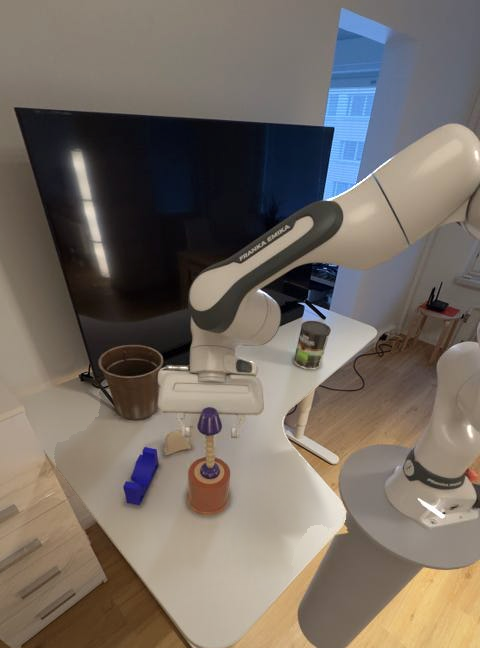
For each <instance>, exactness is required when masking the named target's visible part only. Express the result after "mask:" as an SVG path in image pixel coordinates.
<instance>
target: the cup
mask: <svg viewBox="0 0 480 648" xmlns="http://www.w3.org/2000/svg"><path fill="white" fill-rule="evenodd" d="M204 463H206V456H203V457H200V458H198V459H196V460H194V461H193V462H192V463H191V464H190V466H189V467H188V470H187V475H188V477H187V479H188V481H187V484H188V491H187V495H186V497H187V504H188V505H189V507H190V508H191V510H193V511H194V512H196V513H197V514H200V515H204V516H213V515H216V514H219V513H221V512H222V511H223V510H225V508H226V507H227V506H228V504H229V501H230V492H229V491H230V490H229V489H230V480H231V469H230V467H229V465H228V464H227V462H225V461H224V460H223V459H221V458H218V457H215V456H214V463H216V464H217V465H218V466H219V468H220V474H219V475H218V476H217V477H216V478H214V479H206V478H204V477H203V476H202V475H201V474H200V469H201V467H202V465H203V464H204Z"/></svg>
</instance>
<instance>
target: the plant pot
mask: <svg viewBox="0 0 480 648" xmlns="http://www.w3.org/2000/svg"><path fill="white" fill-rule="evenodd" d="M163 364H164V357H163V355H162V354H161V353H160V352H159V351H158V350H156V349H155V348H152V347H149V346H146V345H141V344H126V345H119V346H116V347H115V346H114V347H112V348H110V349H108V350H107V351H105V352H103V353H102V354H101V355H100V357H99V358H98V367H99V369H100V370H101V371H102V374H103V377H104V379H105V381H106V382H107V385H108V389H109V392H110V395H111V398H112V401H113V405H114V409H115V411H116V413H117V414H118V416H120V417H123V418H125V420H126V419H127V420H130V421H140V420H145V419H147V418H150V417H151V416H152V415H153V414H155V413H157V411H158V410H159V408H158V397H159V390H160V386H159V384H158V372H159V370H160V369H161V368H162V366H163Z"/></svg>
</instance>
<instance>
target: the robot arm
mask: <svg viewBox="0 0 480 648" xmlns="http://www.w3.org/2000/svg"><path fill="white" fill-rule="evenodd" d="M451 223H456V224H457V225H458V226H460V227H462V228H463V230H464V232H466V233H467V234H468V235H469V236H470V237H471V238H473V239H474V240H475V241H477V242H480V140H479V138H478V136H477V135H476V134H475V133H474V131H473V130H471V129H470V128H468V127H467V126H465V125H463V124H460V123H446V124H444V125H441V126H439V127H438V128H436V129H434V130H432V131H431V132H429V133H427V134H425V135H423V136H422V137H421V138H419V139H417V140H416V141H413V142H412V143H411V144H409V145H408V146H407V147H405V148H403V149H402V150H401V151H399V152H398V153H396V154H394V155H393V156H392V157H391V158H389V159H388V160H387V161H386V162H384V163H383V164H382V165H380V166H379V167H378V168H376V169H375V170H374V171H373V172H372V173H371V174H369V175H368V176H367V177H366V178H364V179H363V180H362V181H360V182H359V183H357V184H356V185H354V186H353V187H351V188H350V189H348V190H346V191H344V192H343V193H340V194H339V195H337V196H334V197H331V198H329V199H321V200H317V201H314V202H312V203H309V204H307V205H306V206H304V207H302V208H301V209H299V210H298V211H295V212H294V213H293V214H291V215H289V216H287V218H285V219H284V220H282V221H280V222H279V223H278V224H276V225H275V226H273V227H272V228H271V229H269V230H268V231H266V232H264V233H263V234H262V235H260V236H259V237H258V238H255V240H253V241H252V242H251V243H249V244H247V245H246V246H245V247H243V248H242V249H240V250H239V251H237V252H235V253H234V254H233V255H232V256H229V257H227V258H226V259H223V260H221V261H218V262H216V263H213V264H211V265H209V266H208V267H205V268H204V269H203V270H201V271H200V272H199V273H198V274H197V275H196V276H195V278H194V279H193V280H192V282H191V284H190V286H189V289H188V295H187V304H188V305H187V306H188V311H189V314H190V332H191V337H192V338H191V339H192V340H191V344H190V347H189V365H182V364H181V365H180V364H179V365H174V364H167V365H165V366H164V367H161V369H160V370H159V372H158V384H159V397H158V410H159V411H160V412H161V413H163V414H176V420H177V422H178V424H179V426H180V427H181V431H182V437H187V438H190V437H191V432H190V429H191V428H188V427H186V425H185V423H184V421H183V420H185V415H186V414H189V415H191V414H194V415H201V412H202V410H203V409H204V408H207V407H213V408H215V409H216V410H217V411H218V414H219V415H225V416H226V415H228V416H229V415H230V416H232V415H233V416H234V415H235V416H236V420H237V421H239V422H238V423H237V425H236V427H235V428H230V433H231V434H230V439H239V438H240V429H241V428H242V426H243V425H244V423H245V421H246V416H259V415H261V414H262V413H263V412H264V408H265V407H264V406H265V405H264V404H265V403H264V402H265V401H264V391H263V385H262V382H261V380H260V379H259V377H257V375H258V372H259V366H258V364H257V363H255V362H253V361H250V360H247V359H246V358H245V359H244V358H242V357H239V356H236V348H237V347H238V346H245V347H246V346H249V347H259V346H264V345H266V344H268V343H269V342H270V341H272V339H274V338H275V336H276V335H277V334H278V331H279V329H280V326H281V322H282V311H281V307H280V305H279V303H278V302H277V301H276V300H275V299H274V298H273V297H271V296H270V295H269V294H268V293H266V292H265V291H263V290H262V289H263V288H264V287H266V286H268V285H269V284H271V283H272V282H274V281H276V280H277V279H279V278H280V277H282V276H284V275H285V274H286V273H288V272H290V271H292V270H293V269H295V268H297V267H299V266H303V265H307V264H316V263H319V264H320V263H321V264H329V265H334V266H338V267H341V268H345V269H346V270H347V269H348V270H352V271H366V270H370V269H373V268H374V267H378V266H379V265H381V264H382V265H383V264H384V263H386V262H388V261H389V260H391V259H393V258H394V257H396V256H398V255H399V254H401V253H402V252H403V251H405V250H406V249H407V248H409V246H413V245H414V244H415V243H416V242H418V241H419V240H421V239H422V238H423V237H425V236H426V235H427V234H429V233H430V232H432V231H434V230H436V229H438V228H440V227H443V226H445V225H448V224H451ZM476 339H477V342H476V341H463V342H459V343H456V344H454V345H453V346H451V347H450V348H448V349H447V350H445V351H444V352H443V354H441V356H440V357H439V359H438V360H437V363H436V376H437V385H436V393H435V399H434V403H433V408H432V411H431V416H430V419H429V421H428V424H427V426H426V428H425V429H424V432H423V433H422V435H421V437H420V438H419V440H418V442H417V443H415V444H414V445H413V447H412V448H411V450H410V452H409V454H408V455H407V457H406V459H405V460H404V462H403V463H402V464H401V465H400V466H398V467H397V468H396V469H395V471H394V474H393V475H392V476H390V477H389V478H388V479H387V480H386V482H385V485H384V490H385V494H386V497H387V498H388V500H389V502H390V503H391V504H392V505H393V506H394V507H395V508H396V509H397V510H398V511H399V512H401V513H402V514H404V515H406V516H408V517H410V518H412V519H414V520H416V521H417V522H418V523H419V524H420V525H422V526H423V527H424V528H426V529H429V530H431V529H436V528H441V527H445V526H450V525H455V524H460V523H464V522H469V521H474V520H476V519H477V518H478V509H477V508H479V509H480V484H479V483H473V482H477V481H478V480H479V479H480V477H479V475H478V474H477V473H476V471H475V470H473V469H470V467H471V466H472V465H473V463H474V461H475V460H476V459H477V458H478V457H479V455H480V321H478V325H477V328H476ZM189 432H190V433H189ZM432 523H433V524H432Z"/></svg>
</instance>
